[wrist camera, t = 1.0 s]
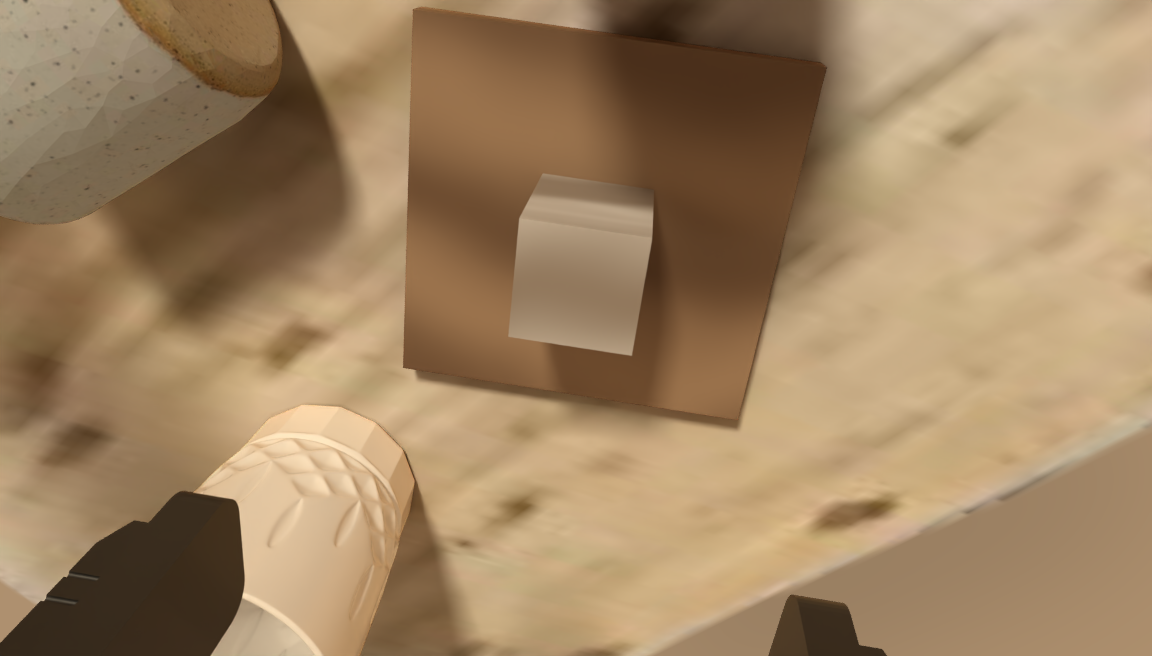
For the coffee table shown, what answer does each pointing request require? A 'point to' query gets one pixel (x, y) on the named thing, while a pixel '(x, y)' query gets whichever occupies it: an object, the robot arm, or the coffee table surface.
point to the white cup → (313, 531)
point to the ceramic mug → (120, 93)
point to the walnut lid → (596, 208)
